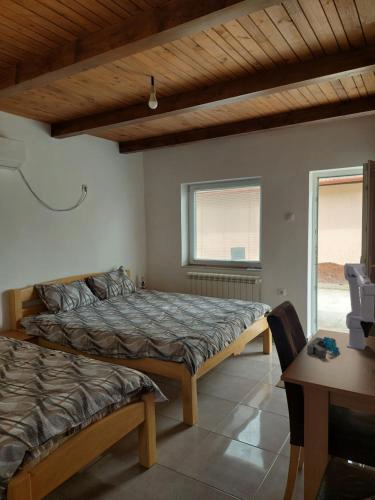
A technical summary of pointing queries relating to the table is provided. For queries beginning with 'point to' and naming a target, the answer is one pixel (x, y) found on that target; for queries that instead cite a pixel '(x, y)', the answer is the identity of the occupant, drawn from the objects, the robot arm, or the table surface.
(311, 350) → the v block
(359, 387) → the table surface
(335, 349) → the teal lobed flat part
